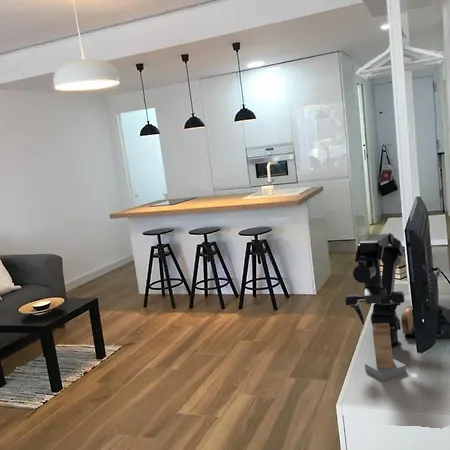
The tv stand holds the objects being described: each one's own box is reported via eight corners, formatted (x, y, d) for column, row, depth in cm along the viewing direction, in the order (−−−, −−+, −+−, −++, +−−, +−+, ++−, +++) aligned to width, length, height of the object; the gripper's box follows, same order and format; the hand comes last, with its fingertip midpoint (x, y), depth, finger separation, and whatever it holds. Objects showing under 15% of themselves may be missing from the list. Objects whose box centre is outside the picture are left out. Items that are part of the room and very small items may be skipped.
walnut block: (377, 360, 166) (372, 323, 164) (392, 360, 164) (389, 323, 162) (376, 367, 161) (372, 329, 159) (393, 367, 160) (389, 329, 157)
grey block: (387, 362, 169) (386, 355, 169) (406, 372, 161) (405, 364, 160) (365, 370, 166) (364, 363, 165) (383, 381, 158) (383, 373, 157)
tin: (410, 338, 184) (408, 316, 182) (401, 338, 185) (399, 316, 184) (419, 322, 196) (417, 302, 195) (410, 322, 198) (408, 301, 196)
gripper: (341, 283, 164) (346, 330, 165) (401, 279, 158) (406, 329, 158) (345, 278, 175) (350, 322, 175) (401, 274, 168) (407, 320, 169)
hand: (377, 323), depth 169 cm, fingers open, 9 cm apart
